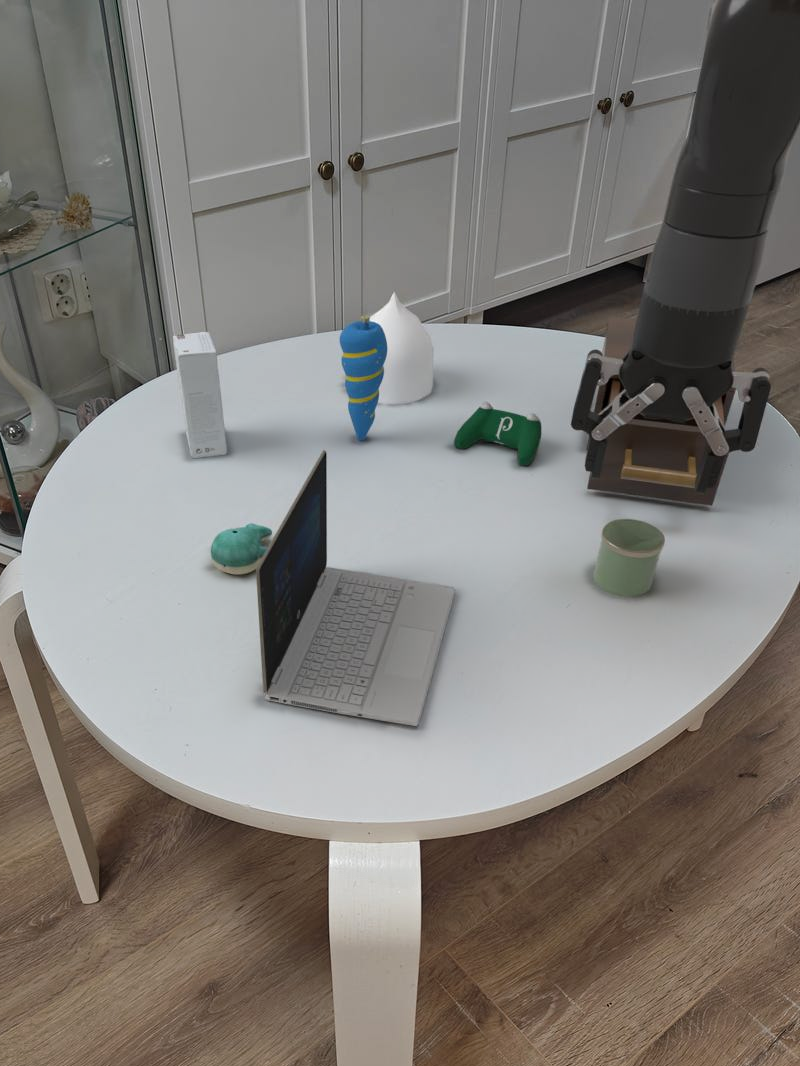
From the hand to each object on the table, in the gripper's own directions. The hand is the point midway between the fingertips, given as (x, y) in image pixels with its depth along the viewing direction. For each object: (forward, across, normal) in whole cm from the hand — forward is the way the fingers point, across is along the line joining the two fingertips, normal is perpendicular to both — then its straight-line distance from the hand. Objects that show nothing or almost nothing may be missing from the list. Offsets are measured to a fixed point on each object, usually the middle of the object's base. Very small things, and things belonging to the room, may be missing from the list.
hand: (646, 481), depth 77 cm
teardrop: (+11, -30, +35) cm, 47 cm away
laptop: (+11, -21, -15) cm, 28 cm away
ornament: (+11, -30, +20) cm, 38 cm away
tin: (+10, 0, 0) cm, 11 cm away
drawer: (+10, +2, +19) cm, 21 cm away
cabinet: (+10, +2, +32) cm, 34 cm away
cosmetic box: (+11, -47, +14) cm, 50 cm away
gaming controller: (+11, -14, +22) cm, 29 cm away
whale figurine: (+11, -35, -6) cm, 37 cm away
